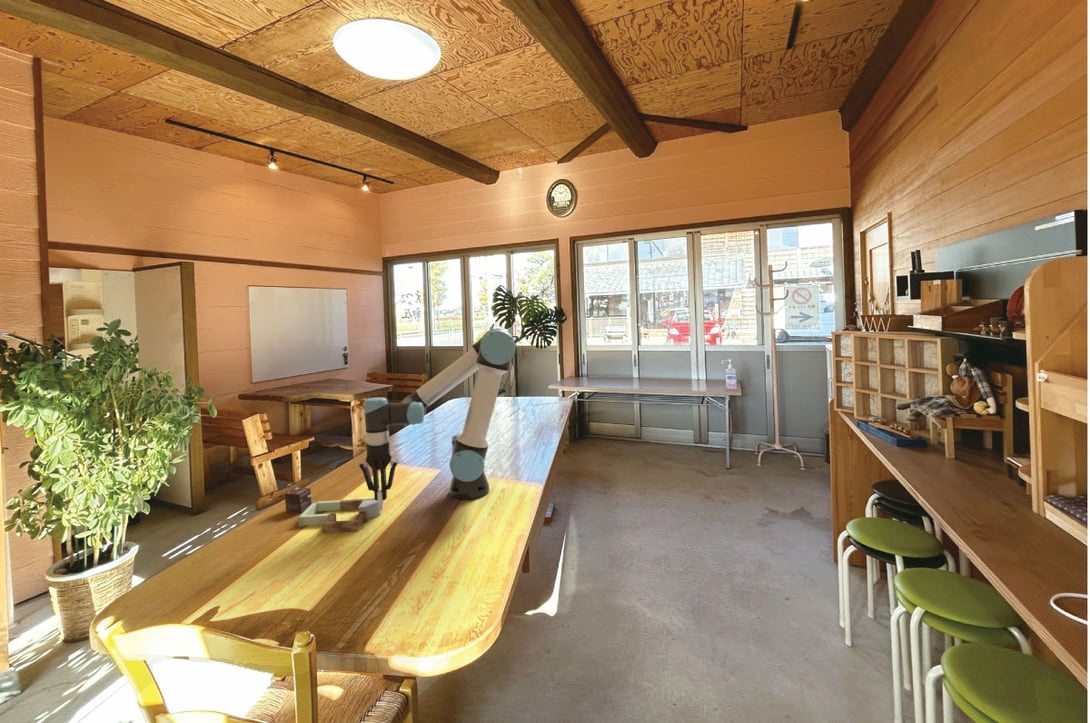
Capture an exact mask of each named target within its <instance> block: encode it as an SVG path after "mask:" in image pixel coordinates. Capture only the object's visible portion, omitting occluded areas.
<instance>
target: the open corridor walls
mask: <svg viewBox="0 0 1090 723" xmlns="http://www.w3.org/2000/svg"><path fill="white" fill-rule="evenodd" d="M340 500H341V499H340ZM363 500H375V497H374V498H359V499H358V498H357V499H342V500H341V501H340V509H341V510H340V511H346V510H348V511H349V510H359V509H358V507H359V506H360V504H361V503H362V502H363ZM328 514H329V515H328V518H327V519H326V520H325V521H324V523H323V524H322V525H321V527H322V534H325V533H326V534H329V533H330V534H331V533H345V532H359V531H360V530H361V528H362V526H363V524H365V523H367V521H368V518H367V511H365V512H360V513H359V512H358V515H356V517H355V518H354V519H353V520H337V514H336V513H328Z"/></svg>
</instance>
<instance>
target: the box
mask: <svg viewBox="0 0 1090 723" xmlns="http://www.w3.org/2000/svg"><path fill="white" fill-rule="evenodd" d="M284 501H285V502H284V504H285V513H286V514H293V515H294V514H296V515H297V514H298V515H301V514H302V513H303V512H304V511H305V510H306V509H307V508H308V507H309V506H310V505H311V504H312V503H313V502H312V493H311V487H295V488H293V489H290V490H288V492H285V493H284Z"/></svg>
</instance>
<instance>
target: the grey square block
mask: <svg viewBox="0 0 1090 723" xmlns="http://www.w3.org/2000/svg"><path fill="white" fill-rule="evenodd" d="M357 510H358V514H359V513H360V512H365V511H367V519H371V518H378V517H379V515H380V513H381V512H382V510H378V500H363V502H362V503H361V504H360V506H359V507H358V509H357Z"/></svg>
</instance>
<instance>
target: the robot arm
mask: <svg viewBox="0 0 1090 723" xmlns="http://www.w3.org/2000/svg"><path fill="white" fill-rule="evenodd" d="M516 348H517V347H516V341H515V339H514V337H513V335H512V334H511V333H510V332H509V331H507V330H504V329H502V328H492V329H489V330H487V331H486V332H485V333H484V334H483V336H482V337H481V338H479V339H478V341H476V342H475V343H474V344H472V345H471V347H470V350H469V351H467V352H465V354H464V355H462V356H460V357H459V358H458V359H457V360H455V361H454V362H452V363H451V364H450V365H448V366H447V367H446V368H444V369H443V370H442V371H440V372H439V373H438V374H437V375H435V376H434V377H432V378H431V379H430V380H428V381H427V382H425V383H424V384H422V386H420V387H419V388H417V389H416V390H415V391H414V392H411V394H409V395H407V396H406V397H405V398H404V399H402V400H401V402H395V403H394V402H393V403H392V402H389V401H388V399H387V397H383V396H382V397H380V396H378V397H377V396H376V397H369V398H367V399H365V401H364V406H363V407H364V412H363V415H364V424H365V426H364V427H365V443H366V458H365V460H364V461H362V462H361V463H359V465H358V467H359V468H360V470H361V471H362V473H363V477H364V479H365V480H364V481H365V483H366V486H367V489H368V491H372V492H374V493H373V494H374V498H375V500H378V510H381V511H384V508H385V501H386V500H387V498H388V492H387V490H390V489H391V488H392V486H393V483H394V477H395V472H396V467H397V465H398V464H399V461H398V460H395V459H393V458H392V455H391V452H390V446H391V445H390V442H389V441H390V432H389V431H390V429H389V426H405V425H406V426H407V425H418V424H419V425H420V424H422V423H423V422H424V420H425V410H426V409H428V407H430V406H431V405H432V404H433V403H434V404H435V402H436V401H438V400H439V399H441V398H442V397H444V396H445V395H446V394H447V393H449V392H450V391H451V390H453V389H454V388H455V387H456V386H458V385H459V384H461V383H462V382H464V381H465V380H466V379H468V377H470V376H472V375H473V374H474V373H476V372H477V376H476V379H475V382H474V386H473V390H472V394H471V398H470V402H469V405H468V409H467V414H466V418H465V420H464V424H463V429H462V432H461V433H457V434H454V435H453V436H451V445H452V446H451V449H452V451H451V456H450V457H451V458H450V460H449V468H450V469H449V470H450V472H451V474H452V478H451V482H450V485H449V496H450V497H452V498H454V499H457V500H474V499H477V498H481V497H484V496H486V495H487V494H489V493H490V484H489V481H488V479H487V476H486V474H485V460H486V457H487V453H488V448H489V446H490V445H489V443H488V441H487V436H488V431H489V427H490V424H491V421H492V417H493V413H494V409H495V405H496V402H497V397H498V395H499V391H500V386H501V383H502V379H503V376H504V375H505V374H506V373H508V372H509V370H510V366H511V363H512V358H513V357H514V356H515V353H516ZM388 465H389V466H390V470H389V476H388V479H387V467H388ZM368 466H369V467H370V468H371V471H372V476H371V473H370V470H369V467H368ZM379 474H380V476H379ZM379 477H380V479H379ZM387 480H388V481H387ZM380 484H381V488H380Z"/></svg>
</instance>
